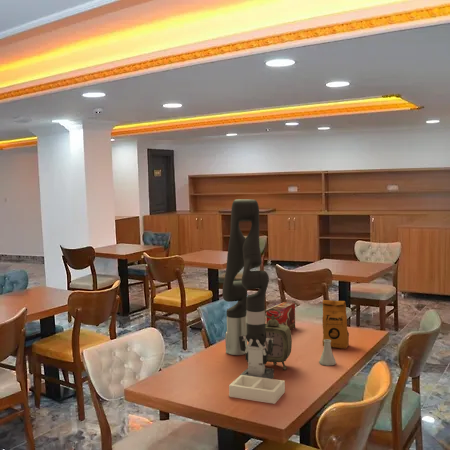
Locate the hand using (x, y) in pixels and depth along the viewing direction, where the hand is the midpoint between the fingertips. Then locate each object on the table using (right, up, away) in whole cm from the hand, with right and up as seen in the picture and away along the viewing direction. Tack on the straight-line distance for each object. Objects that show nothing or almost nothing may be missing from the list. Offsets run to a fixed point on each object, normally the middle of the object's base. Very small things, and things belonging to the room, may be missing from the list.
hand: (256, 362), depth 210 cm
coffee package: (+40, -3, +40) cm, 57 cm away
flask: (+31, -5, +18) cm, 37 cm away
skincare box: (0, -5, 0) cm, 5 cm away
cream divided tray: (-1, -8, -14) cm, 16 cm away
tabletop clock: (+8, -6, +15) cm, 18 cm away
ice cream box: (+17, -2, +67) cm, 69 cm away
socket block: (0, -7, 0) cm, 7 cm away
